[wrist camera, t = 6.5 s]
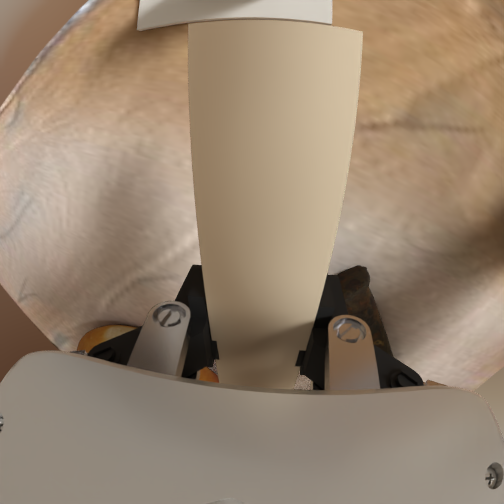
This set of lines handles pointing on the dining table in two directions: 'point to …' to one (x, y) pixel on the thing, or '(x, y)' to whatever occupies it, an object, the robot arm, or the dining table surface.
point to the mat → (231, 11)
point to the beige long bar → (268, 182)
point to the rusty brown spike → (363, 304)
